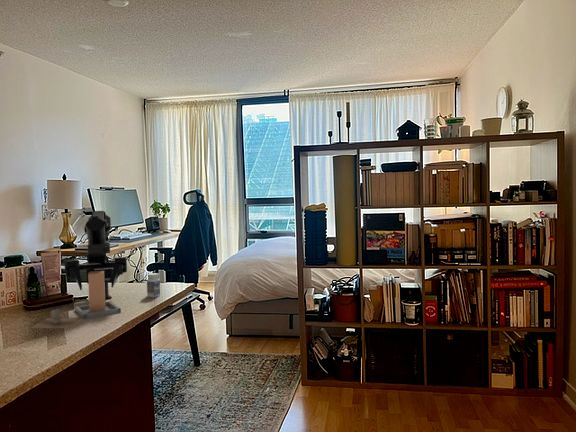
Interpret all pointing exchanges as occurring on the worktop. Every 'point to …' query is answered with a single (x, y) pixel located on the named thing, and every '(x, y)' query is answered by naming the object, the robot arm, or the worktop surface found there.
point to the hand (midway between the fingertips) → (96, 288)
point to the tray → (85, 312)
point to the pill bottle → (153, 285)
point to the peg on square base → (55, 321)
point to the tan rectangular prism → (96, 291)
